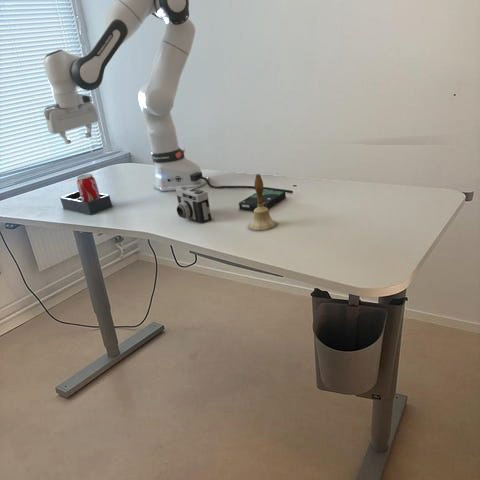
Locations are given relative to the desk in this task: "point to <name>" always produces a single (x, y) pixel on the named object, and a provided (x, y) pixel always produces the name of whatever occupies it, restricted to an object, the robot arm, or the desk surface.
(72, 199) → the open box
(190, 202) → the camera
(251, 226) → the hand bell
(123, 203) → the desk surface
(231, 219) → the desk surface
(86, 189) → the soda can
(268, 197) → the disk drive
